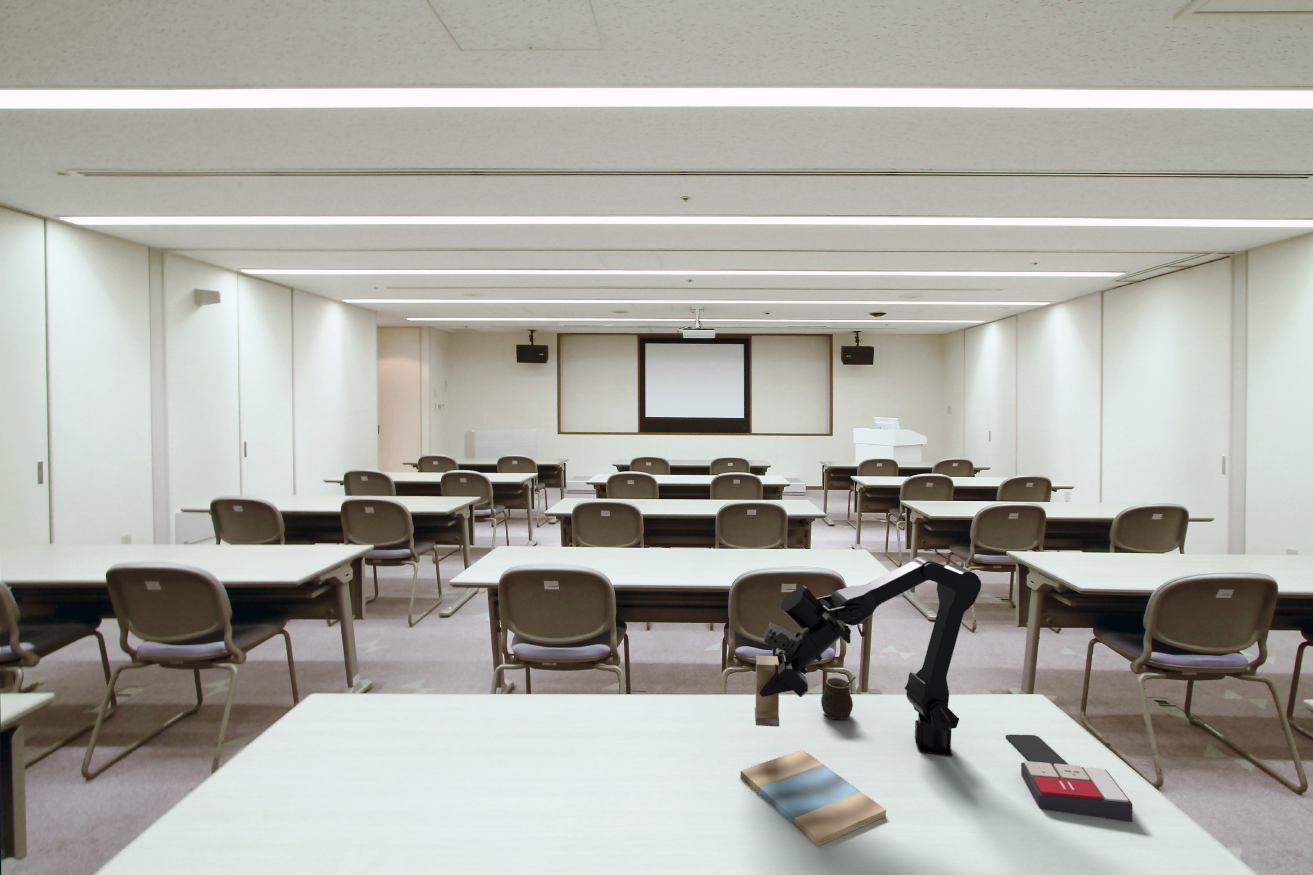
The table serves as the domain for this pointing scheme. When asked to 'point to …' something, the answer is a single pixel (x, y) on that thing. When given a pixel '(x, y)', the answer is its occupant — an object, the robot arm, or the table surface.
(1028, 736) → the phone
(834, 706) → the mate gourd
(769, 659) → the wooden pillar on base
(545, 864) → the table surface
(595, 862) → the table surface
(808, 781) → the board
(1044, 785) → the calculator
